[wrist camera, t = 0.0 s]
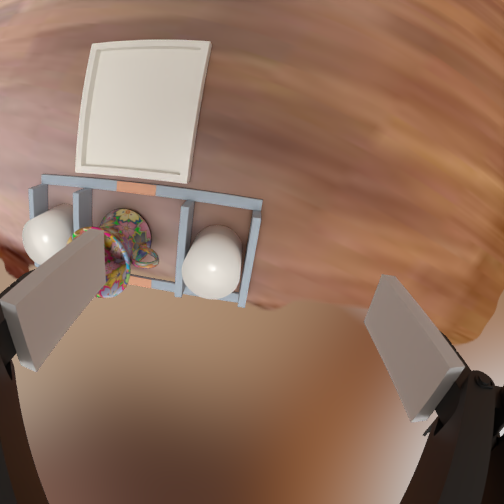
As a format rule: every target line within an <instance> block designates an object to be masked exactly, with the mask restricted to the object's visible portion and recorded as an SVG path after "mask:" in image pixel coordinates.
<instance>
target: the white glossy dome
mask: <svg viewBox="0 0 504 504" xmlns="http://www.w3.org/2000/svg"><path fill="white" fill-rule="evenodd" d="M241 260H242V243H241V240H240V238H239V236H238V235H237V234H236V233H235V232H234V231H233V230H232V229H230V228H228V227H225V226H222V225H212V226H209V227H206V228H204V229H203V230H201V231H200V232H199V233H198V235H197V236H196V238H195V240H194V242H193V244H192V246H191V248H190V250H189V252H188V254H187V256H186V258H185V260H184V262H183V265H182V277H183V280H184V283H185V284H186V286H187V287H188V288H189V289H190V290H191V291H192V292H193V293H194V294H196V295H198V296H200V297H202V298H206V299H220V298H223V297H226V296H228V295H229V294H231V293H232V292H233V291H234V290H235V289H236V287H237V285H238V283H239V280H240V271H241Z"/></svg>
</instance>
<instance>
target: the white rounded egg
mask: <svg viewBox="0 0 504 504" xmlns="http://www.w3.org/2000/svg"><path fill="white" fill-rule="evenodd" d="M73 233H74V224H73V206H72V205H69V204H60V205H58V206H56V207H54V208H52V209H50V210H48V211H46V212H44V213H42V214H40V215H38V216H36V217H34V218H33V219H31V220H29V221H28V222H27V223H26V224H25V226H24V228H23V233H22V239H23V244H24V247H25V250H26V252H27V254H28V255H29V257H30V258H31V259H32V260H33V261H34V262H36V263H37V264H39V265H41V264H43V263H44V262H45V261H47V260H48V259H49V258H50V257H52V256H53V255H54V254H56V253H57V252H58V251H60V250H61V249H62V248H64V247H65V246H66V244H67V241H68V239H69V238H70V236H71V235H72V234H73Z"/></svg>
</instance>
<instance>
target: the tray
mask: <svg viewBox="0 0 504 504" xmlns="http://www.w3.org/2000/svg"><path fill="white" fill-rule="evenodd" d="M211 48H212V44H211V42H210V41H197V40H129V41H115V42H104V43H94V44H92V47H91V51H90V56H89V61H88V66H87V71H86V76H85V82H84V88H83V94H82V101H81V108H80V116H79V125H78V136H77V148H76V165H75V172H77V173H90V174H102V175H113V176H123V177H133V178H142V179H151V180H160V181H168V182H176V183H184V184H187V183H188V182H190V176H191V168H192V161H193V153H194V146H195V139H196V132H197V126H198V120H199V113H200V107H201V101H202V96H203V90H204V84H205V79H206V74H207V68H208V63H209V58H210V53H211Z"/></svg>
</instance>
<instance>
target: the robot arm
mask: <svg viewBox="0 0 504 504" xmlns="http://www.w3.org/2000/svg"><path fill="white" fill-rule="evenodd" d="M105 283H106V275H105V253H104V230H98V229H91V228H90V229H89V230H87V231H86V232H84V233H83V234H82V235H80V236H79V237H77V238H76V239H75V240H73V241H72V242H71V243H69V244H68V245H66V246H65V247H64V248H62V249H61V250H60V251H58V252H57V253H56V254H54V255H53V256H52V257H50V258H49V259H48V260H47V261H45V262H44V263H43V264H41V265H40V266H39V267H38V268H36V269H34V270H32V271H29V272H27V273H25V274H23V275H22V276H21V277H20V278H18V279H17V281H16V282H14V283H12V284H11V285H10V287H8V288H6V289H5V290H4V291H3V292H2V293H1V294H0V504H49V503H48V500H47V498H46V495H45V492H44V490H43V487H42V484H41V482H40V479H39V476H38V473H37V470H36V467H35V464H34V461H33V457H32V454H31V450H30V447H29V444H28V439H27V435H26V431H25V427H24V423H23V418H22V413H21V409H20V403H19V398H18V391H17V385H16V378H15V370H14V365H13V362H12V360H11V359H12V358H13V356H14V355H15V354H16V353H17V356H18V359H19V361H20V364H21V365H22V366H24V367H26V368H28V369H31V370H33V371H35V372H37V371H38V370H39V368H40V367H41V365H42V364H43V363H44V361H45V360H46V358H47V357H48V356H49V354H50V353H51V352H52V350H53V349H54V348H55V346H56V345H57V343H58V342H59V341H60V340H61V338H62V337H63V336H64V334H65V333H66V332H67V330H68V329H69V328H70V326H71V325H72V324H73V323H74V321H75V320H76V319H77V318H78V316H79V315H80V314H81V313H82V311H83V310H84V309H85V307H86V306H87V305H88V304H89V303H90V301H91V300H92V299H93V298H94V297H95V295H96V294H97V293H98V292H99V291H100V289H101V288H102V287H103V286H104V285H105ZM364 323H365V325H366V327H367V329H368V331H369V333H370V335H371V337H372V339H373V341H374V343H375V345H376V347H377V349H378V351H379V353H380V356H381V358H382V360H383V361H384V364H385V366H386V368H387V370H388V372H389V375H390V377H391V379H392V381H393V383H394V385H395V388H396V390H397V392H398V394H399V397H400V399H401V401H402V403H403V405H404V408H405V410H406V412H407V415H408V417H409V419H410V422H419V421H425V420H427V419H428V418H429V416H430V415H431V414H432V413H433V411H434V410H436V412H437V414H438V417H437V418H436V419H435V421H434V422H433V423H432V424H431V425H430V426H429V428H428V429H427V430H426V431H425V433H424V434H423V435H424V436H426V434H427V433H428V432H430V434H429V436H428V439H427V442H426V445H425V447H424V450H423V453H422V455H421V458H420V460H419V463H418V465H417V468H416V470H415V472H414V475H413V477H412V479H411V481H410V484H409V486H408V488H407V490H406V492H405V494H404V496H403V498H402V500H401V502H400V504H504V434H503V435H502V436H501V437H500V433H499V432H500V431H501V430H502V428H503V427H504V386H503V387H499V386H495V384H494V382H493V381H492V379H491V378H490V377H489V376H487V375H486V374H484V373H483V372H481V371H474V370H473V371H471V370H470V368H469V367H468V365H467V364H466V363H465V361H464V360H463V358H462V357H461V356H460V355H459V353H458V352H456V349H455V347H454V346H453V345H452V343H451V342H450V341H449V339H448V338H447V337H446V336H445V335H444V334H443V333H442V332H440V331H439V330H438V329H437V327H436V326H435V325H434V324H433V322H432V321H431V320H430V318H429V317H428V316H427V315H426V313H425V312H424V311H423V310H422V308H421V307H420V306H419V305H418V303H417V302H416V301H415V300H414V298H413V297H412V296H411V295H410V294H409V292H408V291H407V290H406V289H405V288H404V286H403V285H402V284H401V283H400V282H399V280H398V279H397V278H396V277H395V276H390V275H384V274H382V275H381V278H380V281H379V284H378V286H377V289H376V292H375V295H374V297H373V300H372V302H371V305H370V307H369V310H368V312H367V315H366V317H365V320H364Z"/></svg>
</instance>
